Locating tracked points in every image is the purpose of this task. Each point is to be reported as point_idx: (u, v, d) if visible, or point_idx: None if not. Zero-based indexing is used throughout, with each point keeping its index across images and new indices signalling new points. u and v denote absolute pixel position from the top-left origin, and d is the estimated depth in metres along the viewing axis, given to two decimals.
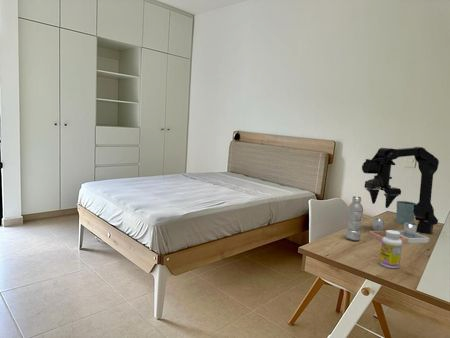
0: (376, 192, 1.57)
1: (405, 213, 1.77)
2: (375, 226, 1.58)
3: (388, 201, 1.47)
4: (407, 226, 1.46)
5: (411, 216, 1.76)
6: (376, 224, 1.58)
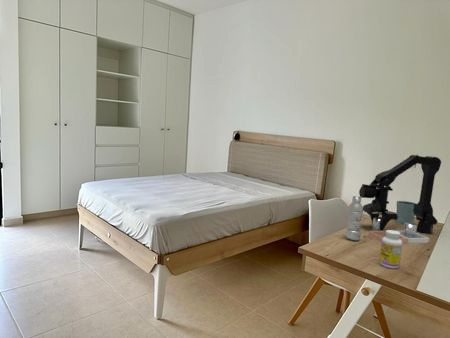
0: (376, 216, 1.62)
1: (405, 213, 1.77)
2: (375, 226, 1.58)
3: (382, 224, 1.56)
4: (407, 226, 1.46)
5: (411, 216, 1.76)
6: (376, 224, 1.58)
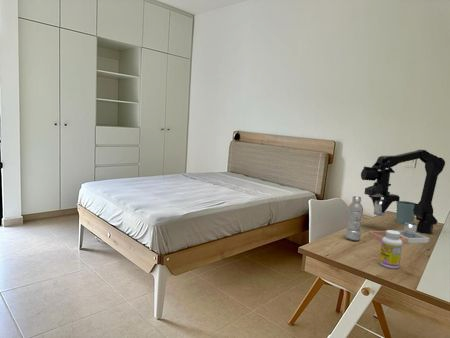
0: (378, 199, 1.61)
1: (405, 213, 1.77)
2: (377, 209, 1.57)
3: (384, 206, 1.55)
4: (407, 226, 1.46)
5: (411, 216, 1.76)
6: (378, 207, 1.57)
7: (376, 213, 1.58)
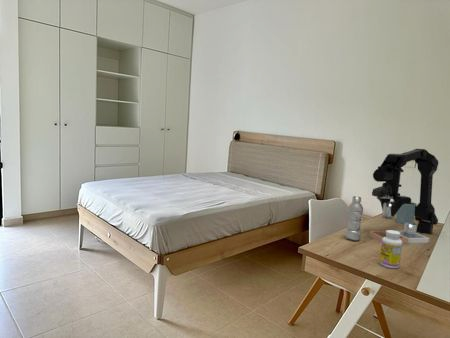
0: (387, 201, 1.48)
1: (405, 213, 1.77)
2: (385, 212, 1.44)
3: (394, 209, 1.41)
4: (407, 226, 1.46)
5: (411, 216, 1.76)
6: (387, 209, 1.43)
7: (385, 216, 1.44)
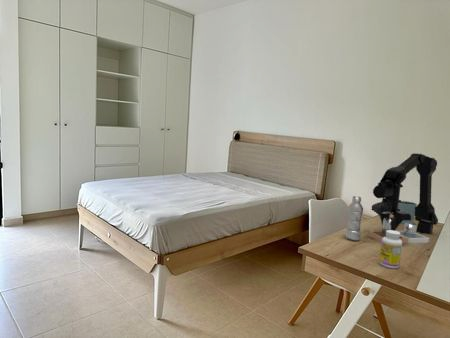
0: (387, 216, 1.47)
1: None
2: (385, 228, 1.43)
3: (394, 225, 1.40)
4: (407, 226, 1.46)
5: (411, 216, 1.76)
6: (387, 225, 1.42)
7: (385, 232, 1.43)
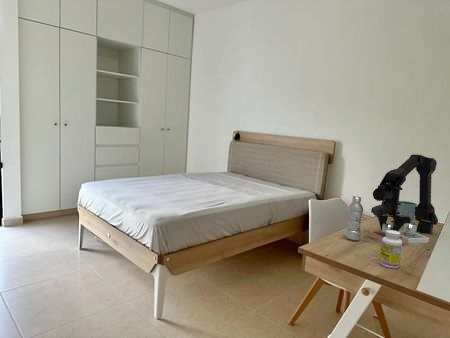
0: (385, 218, 1.48)
1: (405, 213, 1.77)
2: (385, 233, 1.43)
3: (395, 228, 1.40)
4: (407, 226, 1.46)
5: (411, 216, 1.76)
6: None
7: None
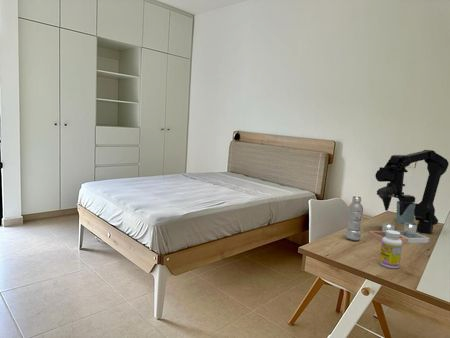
0: (389, 199, 1.57)
1: (405, 213, 1.77)
2: (385, 233, 1.43)
3: (402, 209, 1.47)
4: (407, 226, 1.46)
5: (411, 216, 1.76)
6: None
7: None
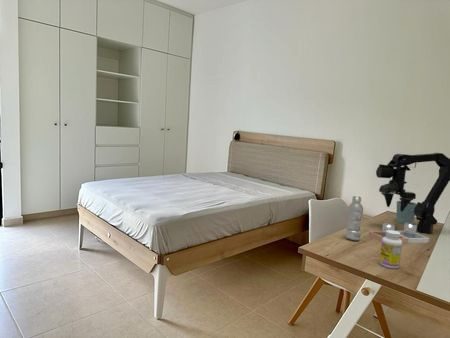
0: (391, 196, 1.64)
1: (405, 213, 1.77)
2: (385, 233, 1.43)
3: (403, 205, 1.53)
4: (407, 226, 1.46)
5: (411, 216, 1.76)
6: None
7: None
